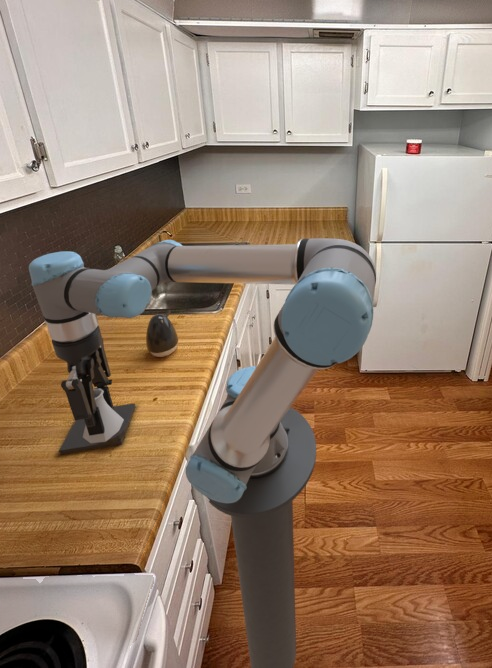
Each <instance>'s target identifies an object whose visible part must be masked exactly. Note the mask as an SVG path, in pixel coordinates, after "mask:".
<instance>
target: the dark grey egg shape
mask: <svg viewBox="0 0 492 668" xmlns="http://www.w3.org/2000/svg"><path fill="white" fill-rule="evenodd" d="M171 313H172V311H171V310H170V309H168V310H167V311H166V312H165V313H164V314H162V313H157V314H154V315H153V316H152V317H151V318H150V319H149V322H148V324H147V327H146V333H145V334H146V335H145V342H146V343H145V345H146V349H147V351H148V352H149V353H150V354H151V356H154V357H157V358H164V357H167V356H169V355H171V354H172V353H174V352H175V351H176V349H177V347H178V343H179V336H178V333H177V329H176V327H175V326H174V324H173V323H172V321H171V319H169V318H168V317H169V315H170V314H171Z"/></svg>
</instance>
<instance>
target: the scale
mask: <svg viewBox="0 0 492 668" xmlns="http://www.w3.org/2000/svg"><path fill="white" fill-rule="evenodd" d="M113 407H114V411H115V412H116V413H117V414H118V415H119V416H121V417H122V418H123V419H124V421H123V423H122V425H121V427H120V430H119V431H118V432H117V433H116V434H115V435H113V436H112V437H111V438H110V439H108V440H107V441H106V442H98V443H90V442H88V441H87V440H86V439H84V438H83V434H84V430H85V426H86V424H85V421H84V419H82V420H75V419H74V423H73V424H72V426H71V428H70V429H69V431H68V434H67V435H66V437H65V439H64V440H63V442H62V444H61V446H60V448H59V450H58V452H59V455H66V454H72V453H79V452H84V451H90V450H96V449H97V450H98V449H103V448H109V447H113V446H114V447H115V446H120V445H123V443H124V440H125V438H126V435H127V432H128V430H129V427H130V424H131V421H132V418H133V417H134V413H135V410H136V403H135V402H134V403H127V404H121V405H113Z"/></svg>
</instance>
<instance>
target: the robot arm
mask: <svg viewBox="0 0 492 668" xmlns="http://www.w3.org/2000/svg"><path fill="white" fill-rule="evenodd" d="M28 271H29V276H30V279H31V283H30V284H31V287H33V288H32V289H33V291H34V294H35V297H36V300H37V302H38V306H39V308H40V311H41V313H42V317H43V319H44V324H45V325H46V328H47V330H48V334H49V337H50V339H51V344H52V347H53V350H54V352H55V356H56V357H57V358H58V359H60V360H62V361H64V362H66V365H67V367H66V368H67V373H68V374H69V375H68V377H67V379H65V380H61V382H60V387H61V389H63V392H65V395H66V398H67V401H68V404H69V407H70V410H71V414H72V417H73V419H74V421H75V420H82V419H84V421H85V424H86V427H87V430H88V433H89V436H91V435H97V434H103V433H104V432H105V428H104V424H103V421H102V418H101V414H100V411H99V407H95V400H94V392H93V389H99V388H100V389H102V390H103V391H104V393H103V397H104V399H105V401H106V403H107V404H108V405H109V406H110V407H111V408H112V409H113V410H114V407H113V406H114V403H113V399H112V395H111V392H110V389H109V386H111V385H113V379H109V378H110V377H111V374H112V373H111V369H110V366H109V362H108V358H107V357H108V356H107V353H106V350H105V345H104V344H105V343H104V337H103V335H102V331H101V328H100V325H99V318H98V315H100V316H103V317H106V318H107V317H108V318H115V319H117V318H122V319H123V318H124V319H133V318H136V317H139V316H140V315H141V314H142V313H144V312H145V310H146V307H147V305H149V304H150V303H151V299H152V293H153V290H155V289H156V288H158V287H159V286H161V285H162V284H164V283H200V284H201V283H204V284H205V283H206V284H249V285H250V284H251V285H292V286H293V287H292V288H291V289H290V291H289V293H288V294H287V296H286V298H285V300H284V304H283V305H282V306H281V308H280V310H279V312H278V313H277V315H276V317H275V318H274V320H273V333H274V336H275V337H274V338H273V340H272V341H271V343H270V345H269V346H268V347H267V349H266V351H265V353H264V354H263V355H262V357H261V358H260V360H259V362H258V363H257V365H251V366H247V367H243V368H240V369H238V370H236V371H234V372H233V373H232V374H231V375H230V376H229V378H227V381H226V387H225V390H226V391H225V392H226V394H227V395H226V398H225V400H224V401H223V403H222V405H221V407H220V408H219V409H218V412H217V413H216V415H215V417H214V419H213V420H212V422H211V423H210V425H209V426H208V428H207V430H206V431H205V434H204V435H203V437H202V438H201V440H200V441H199V443H198V445H197V447H196V448H195V450H194V452H193V454H191V455H190V456H189V461H188V463H187V465H186V466H185V476H186V479H187V482H188V483H189V484H190V485H191V486H192V487H193V488H194V489H195V490H196V491H197V492H198V493H199V494H201V495H202V496H204V497H206V498H207V497H208V498H210V499H212V500H215V501H217V502H222V503H234V502H236V501H238V500H239V499H240V498H241V496H242V494H243V492H244V490H246V488H247V487H246V484H247V482H248V480H249V479H259V478H263V477H266V476H268V475H270V474H272V473H273V472H274V471H276V470H277V469H278V468H279V467H280V466H281V464H282V463H283V461H284V460H285V458H286V455H287V451H288V438H287V434H286V431H289V430H290V429H289V428H283V426H282V424H281V422H280V420H281V419H282V418H283V416H284V415H285V414H286V413H287V411H288V410H289V409H290V407H291V408H292V406H293V404H294V403H295V402H296V401H297V399H298V398H299V397H300V395H301V394H302V392H304V390H305V389H306V388H307V386H308V385H309V384H310V383H311V381H312V380H313V379H314V377H315V376H316V374H317V373H318V371H319V370H326V369H327V370H328V369H330V368H332V367H334V366H335V365H336V364H341V363H344V362H346V361H348V360H350V359H352V358H353V357H354V356H356V355H357V353H359V352H360V351H361V349H362V348H363V346H364V345H365V343H366V341H367V339H368V336H369V334H370V333H371V328H372V325H373V321H374V297H375V289H376V284H377V269H376V265H375V263H374V261H373V259H372V257H371V256H370V254H369V253H368V252H367V250H365V249H364V248H363V247H362V246H360V245H359V244H357V243H355V242H352V241H350V240H346V239H342V238H331V237H330V238H324V237H323V238H319V237H318V238H315V237H314V238H300V239H299V240H298V241H297V242H296V243H289V244H287V243H286V244H284V243H283V244H227V245H226V244H225V245H224V244H222V245H221V244H219V245H218V244H217V245H216V244H214V245H182V243H180V242H177V241H176V240H174V239H164V240H161V241H159V242H155V243H153V244H151V245H150V246H149V247H147V248H146V249H145V248H144V250H141V251H140V252H138V253H137V254H134V255H132V256H131V257H129V258H127V259H125V260H123V261H121V262H120V263H117V264H115V265H113V266H112V267H110V268H108V269H97V268H89V267H85V262H84V261H83V259H82V257H81V255H79V254H78V253H77V252H76V251H71V250H69V251H57V252H51V253H50V252H49V253H47V254H43V255H41V256H38V257H37V258H35V259H33V260H32V261H31V262H30V263H29V265H28ZM208 498H207V499H208Z"/></svg>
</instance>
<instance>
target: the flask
mask: <svg viewBox="0 0 492 668" xmlns="http://www.w3.org/2000/svg"><path fill="white" fill-rule="evenodd" d="M93 392H94V400H95V407H99V411H100V414H101V418H102V421H103V424H104V428H105V432H104V433H103V434H97V435H91V436H89V433H88V430H87V427H86V426H85V430H84V434H83V438H84V439H86V440H87V441H88V442H90V443H98V442H106V441H107V440H108V439H110V438H111V437H112V436H113V435H115V434H116V433H117V432H118V431H119V430H120V427H121V425H122V423H123V421H124V419H123V418H122V417H121V416H119V415H118V414H117V413H116V412H115V411H114V410H113V409H112V408H111V407H110V406H109V405H108V404H107V403H106V401H105V399H104V397H103V393H104V391H103V390H102V389H100V388H99V389H94V388H93Z"/></svg>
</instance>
